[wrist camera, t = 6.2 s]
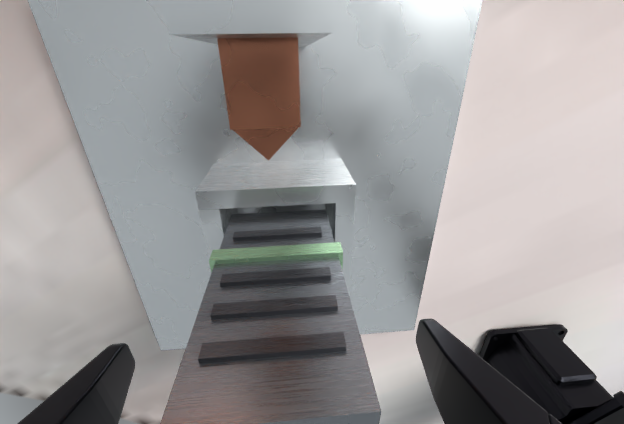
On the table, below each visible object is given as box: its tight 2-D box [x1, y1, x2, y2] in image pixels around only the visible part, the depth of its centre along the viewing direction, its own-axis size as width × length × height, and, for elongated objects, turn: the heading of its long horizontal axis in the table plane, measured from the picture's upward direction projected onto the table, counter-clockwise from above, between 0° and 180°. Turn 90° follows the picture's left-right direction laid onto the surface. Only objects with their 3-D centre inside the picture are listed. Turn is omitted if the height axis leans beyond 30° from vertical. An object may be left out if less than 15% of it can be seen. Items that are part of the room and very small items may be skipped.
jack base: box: [28, 0, 482, 350], centre depth 13 cm, size 20×18×9 cm
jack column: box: [160, 209, 381, 424], centre depth 10 cm, size 4×4×8 cm
